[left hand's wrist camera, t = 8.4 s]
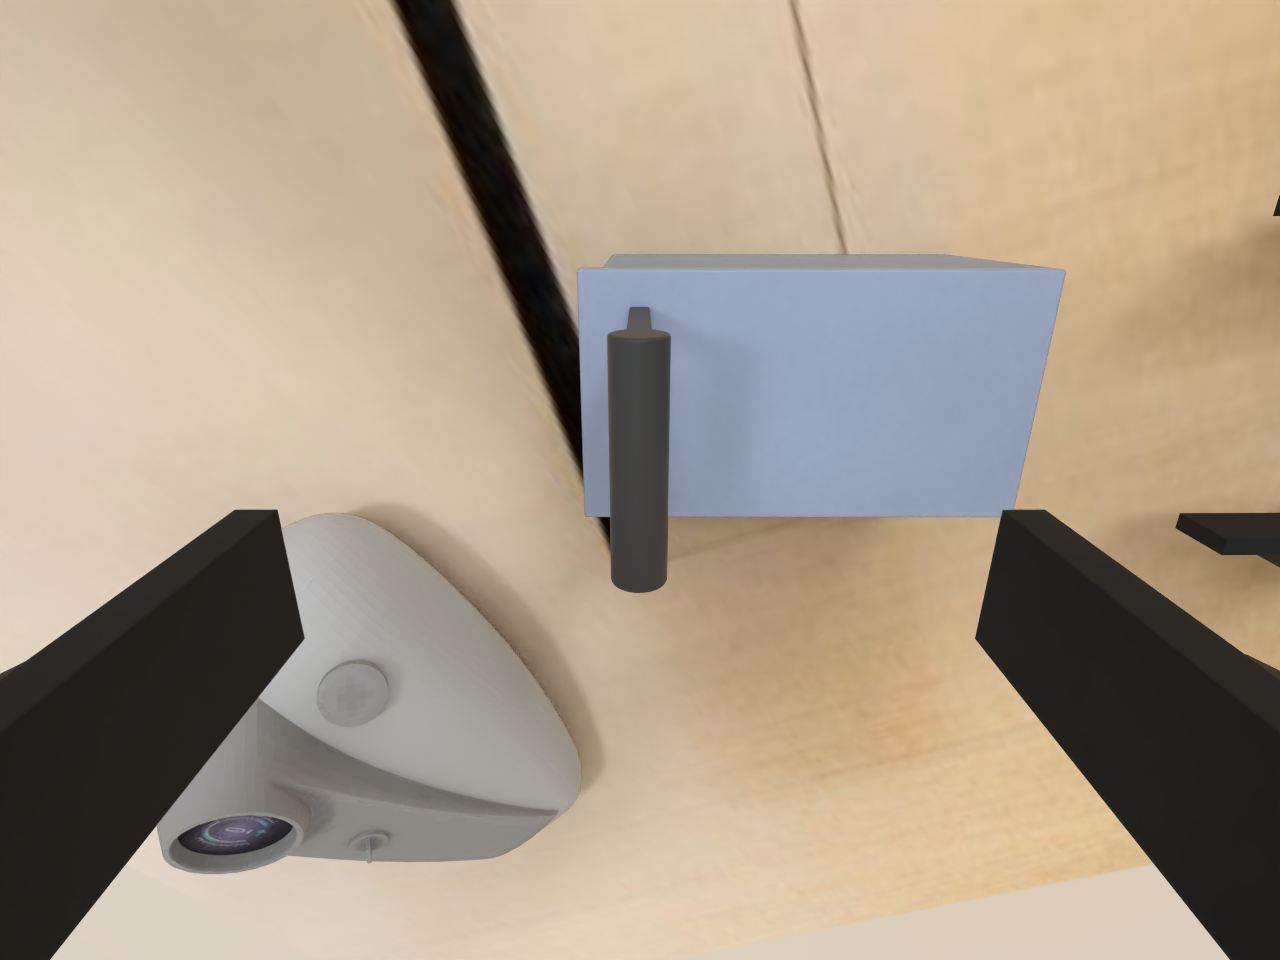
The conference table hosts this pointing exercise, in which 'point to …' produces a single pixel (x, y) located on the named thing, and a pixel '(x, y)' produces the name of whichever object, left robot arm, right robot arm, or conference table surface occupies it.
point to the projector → (378, 726)
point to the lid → (804, 395)
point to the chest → (804, 261)
